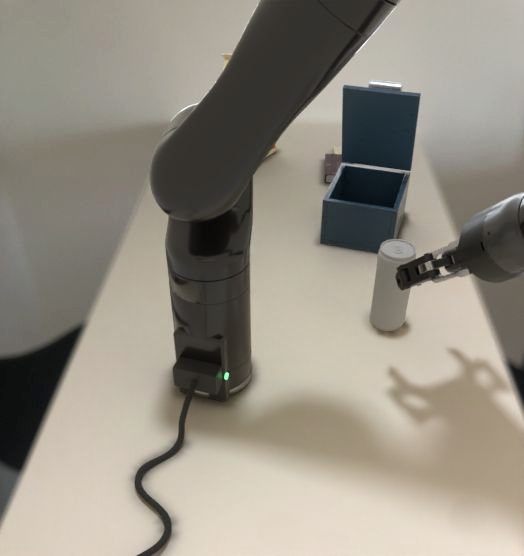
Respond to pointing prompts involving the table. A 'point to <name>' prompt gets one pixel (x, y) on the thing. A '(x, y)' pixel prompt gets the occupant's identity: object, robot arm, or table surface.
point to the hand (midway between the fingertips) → (430, 273)
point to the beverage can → (390, 285)
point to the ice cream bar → (333, 164)
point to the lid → (379, 125)
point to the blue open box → (363, 207)
